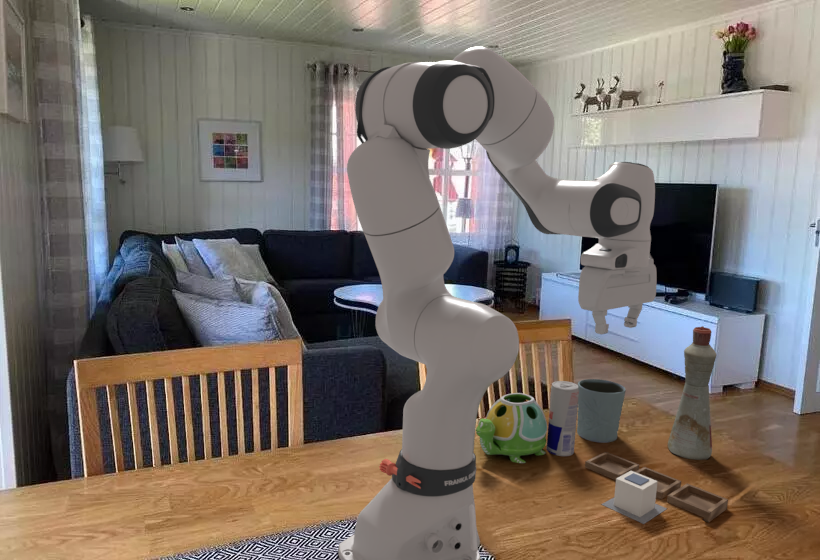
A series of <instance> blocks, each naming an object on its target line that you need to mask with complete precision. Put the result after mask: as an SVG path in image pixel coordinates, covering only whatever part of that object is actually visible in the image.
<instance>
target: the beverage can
mask: <svg viewBox="0 0 820 560" xmlns="http://www.w3.org/2000/svg"><path fill="white" fill-rule="evenodd" d="M578 395H579V389H578V383H574V382H572V381H565V380H557V381H553V382H551V387H550V399H549V409H548V410H549V411H548V422H547V435H546V451H547V452H548V453H549V454H552V455H554V456H559V457H570V456H572V455H573V454H575V453H574V452H575V443H576V441H575V440H576V433H577V431H576V430H577V420H578Z"/></svg>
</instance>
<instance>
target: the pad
mask: <svg viewBox="0 0 820 560" xmlns="http://www.w3.org/2000/svg"><path fill="white" fill-rule="evenodd" d="M601 506H604V507H605V508H608V509H610V510H612V511H615V512H616V513H619V514H621V515H623V516H626V517H627V518H629V519H631V520H634V521H636V522H638V523H640V524H642V525H645V524H646V523H648V522H649V521H651V520H652V519H654V518H656V517H657V516H659V515H660V514H661V513H664V512H665V511H666V510H667V509H668V508H667V507H664V506H662V505H659V504H658V503H655V508H654V509H652V510H651V511H649V512H648V513H646V514H644V515H643V516H641V517H638V516H636V515H634V514H632V513H630V512H627V511H625V510H623V509H621V508H619V507H616V506H614V497H612V498H610V499H608V500H606V501H605V502H602V503H601Z"/></svg>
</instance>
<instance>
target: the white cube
mask: <svg viewBox="0 0 820 560" xmlns="http://www.w3.org/2000/svg"><path fill="white" fill-rule="evenodd" d="M657 482H658V481H656V480H653V479H651V478H648V477H646V476H643V475H641V474H638V473H636V472H633V471H629V472H627V473H626V474H624V475H622V476H620V477H618V478H616V480H615V485H614V486H615V487H614V506H616V507H619V508H621V509H623V510H625V511H627V512H630V513H632V514H634V515H636V516H638V517H641V516H643V515H644V514H646V513H648V512H649V511H651V510H652V509H654V508H655V504H656V501H657V500H656V499H657V498H656V491H657Z"/></svg>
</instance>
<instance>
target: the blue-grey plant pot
mask: <svg viewBox="0 0 820 560" xmlns="http://www.w3.org/2000/svg"><path fill="white" fill-rule="evenodd" d="M577 385H578V389H579V395H578V407H577V420H576V430H577V431H576V433H577V435H578V436H579V437H581V438H582V439H585V440H587V441H590V442H595V443H604V444H605V443H611V442H615V441H617V439H618V431H619V429H620V421H621V416H622V411H623V406H624V405H623V404H624V401H625V395H626V391H627V389H626V387H625V386H623V385H622V384H620V383H617V382H615V381H612V380H607V379H606V380H605V379H598V378H587V379H586V378H585V379H582V380H581V379H580V381H578V382H577Z"/></svg>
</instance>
